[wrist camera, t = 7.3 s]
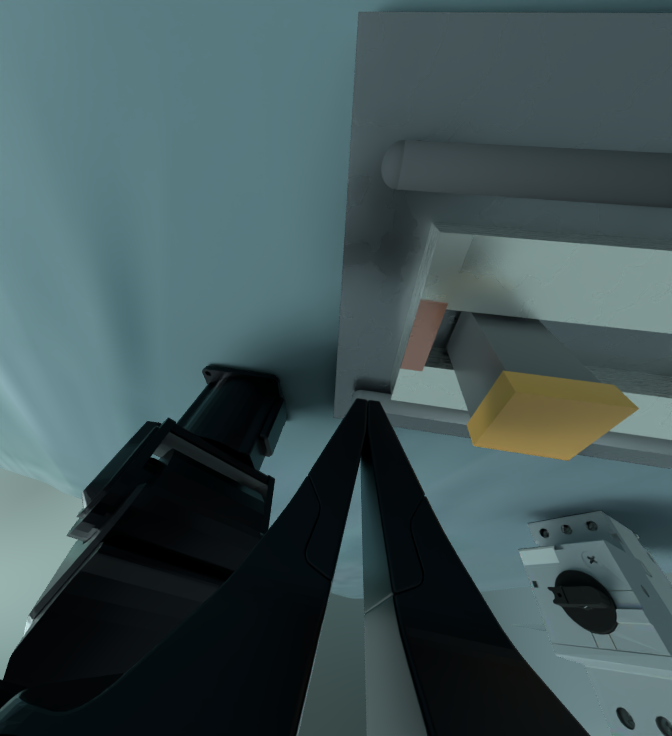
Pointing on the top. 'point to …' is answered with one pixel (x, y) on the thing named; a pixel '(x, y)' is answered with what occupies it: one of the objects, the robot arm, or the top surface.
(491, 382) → the breaker lever
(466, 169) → the gray flat tray
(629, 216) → the breaker panel
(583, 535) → the circuit breaker
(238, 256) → the top surface
